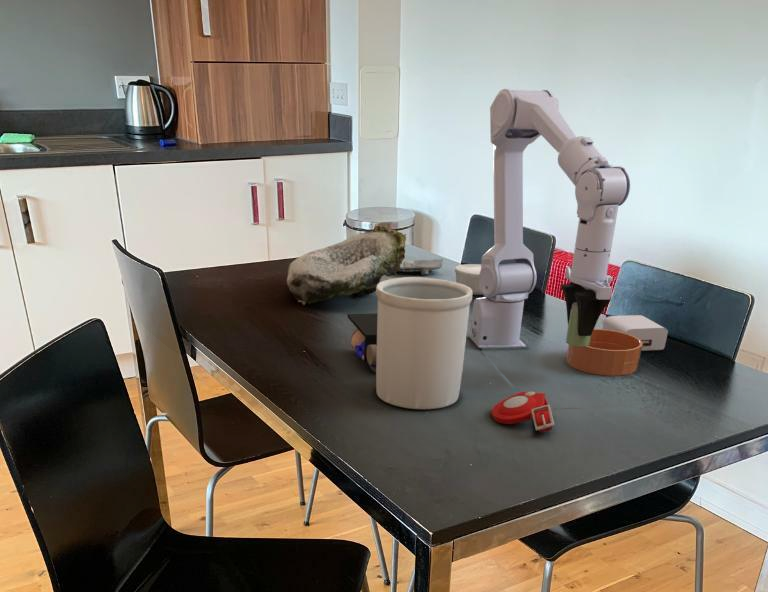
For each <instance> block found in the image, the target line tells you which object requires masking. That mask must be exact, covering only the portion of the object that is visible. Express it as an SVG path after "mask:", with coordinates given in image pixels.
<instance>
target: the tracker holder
mask: <svg viewBox="0 0 768 592" xmlns="http://www.w3.org/2000/svg"><path fill="white" fill-rule="evenodd" d="M552 413H553V412H552V408H551V405H550V404H549V402H548V401H547V399H546V394H545V393H544V392H535V391H520V392H517V393H514V394H513V395H510V396H509V397H506V398H504V399H502V400H500V401H499V402H497V403H496V404H495V405H494V406H493V408H492V410H491V415H492V419H493V420H494V421H495V422H496V423H499V424H504V425H512V424H519V423H524V422H526V421H529V420H533V424H534V429H535V431H536V432H537V431H538V433H539V434H542V433H545V432H549V431H551V430H552V429H553V427H554V426H555V420H554V417H553V414H552Z"/></svg>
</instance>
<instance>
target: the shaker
mask: <svg viewBox="0 0 768 592" xmlns="http://www.w3.org/2000/svg"><path fill="white" fill-rule="evenodd" d="M590 339H591V336H579V335H578V306H577V302H575V303H573V304H572V308H571V311H570V318H569V324H568V323H567V332H566V338H565V343H566V344H567V345H568V344H570V345H573V346H588V345H589V344H590Z"/></svg>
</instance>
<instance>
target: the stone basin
mask: <svg viewBox="0 0 768 592" xmlns="http://www.w3.org/2000/svg"><path fill="white" fill-rule="evenodd" d="M406 241H407V234H405V233H402V232H400V231H398V230H396V229H395V228H388V227H385V226H380V225H374V227H373V230H371V229H369V230H366V231H364V232H360V233H358V234H356V235H353V236H351V237H348V238H347V239H344V240H342V241H340V242H337V243H334V244H332V245H329V246H325V247H323V248H320V249H315V250H312V251H309V252H307V253H305V254H303V255H301V256H299V257H297V258H296V259H294V260H293V261H292V262H291V263H290V264H289V266H288V268H287V276H286V277H287V278H286V284H287V286H288V290H289V292H290V293H291V294H292V295H293V297H294V298H295V300H297V302H298V303H301V304H302V305H303V306H305V305H306V304H308V305H311V304H314V303H316V302H318V301H319V302H321V301H322V302H325V301H328V300H329V299H333V298H334V296H345V295H347V296H348V295H351V297H353V298H362V297H365V296H369V295H372V294H374V293H376V287H377V284H378V283H380V282H381V279H382V278H383V277H385V276H386V277H394V276H396V273H397V272H400V271H399V270H400V267H401V265H402V263H403V262H404V259H406V256H405V255H406V254H405V253H406Z"/></svg>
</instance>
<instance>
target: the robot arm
mask: <svg viewBox="0 0 768 592" xmlns="http://www.w3.org/2000/svg"><path fill="white" fill-rule="evenodd" d="M489 118H490V119H489V121H490V123H489V124H490V125H489V126H490V131H489V132H490V143H491V144H492V146H493V147H492V155H493V157H492V164H493V166H492V167H493V240H494V241H493V242H494V245H493V246H491V247H490V248H489V249H488V250H487V251H486V252H485V253H484V254H483V255H482V256H481V263H480V264H481V271H480V274H479V286H480V289H481V291H482V293H483V294H484V295H482V296H483V297H476V298H475V299H474V301H473V304H472V310H471V321H470V322H471V323H470V332H469V335H468V337H469V338H470V340H471V341H472V342H473V343H474V344H475V346H476V347H477V348H478V349H480V350H481V349H489V348H490V349H497V348H499V349H501V348H506V349H507V348H526V347H527V345H526V344H525V343H524V342H523V341H522V340H521V339H520V338H521V329H522V323H523V313H524V307H525V306H524V305H525V300H528V298H529V294H531V293H532V292H533V291H534V289H535V287H536V284H537V281H538V280H537V279H538V278H537V277H538V276H537V269H536V267H535V263H534V253H533V252H532V251H531V250H530V249H529V248H528V247H527V246H526V245H525V244H524V213H523V212H524V208H523V207H524V151H525V150H526V148H527V147H528V146H529V145H530V144H533V143H534V142H535V141H536V140H538V138H539V137H543V139H545V140H546V142H547V143H548V144H549V145H550V146H551V147H552V148H553V149H554V150H555V151H556V152H557V153H558V155H557V164H558V166H559V167H560V169H561V170H562V172H564V174H565V175H566V176H567V178H568V179H569V180H570V181H571V183H572V184H573V186H574V187H575V188H574V195H575V199H576V204H577V208H576V214H577V218H578V224H577V230H576V236H575V243H574V251H573V256H572V263H571V266H568V265H567V266H566V268H565V273H564V278H565V279H567V280H568V281H569V283H563V284H561V286H560V287H561V290H562V294H563V296H564V302H565V306H566V319H567V321H566V322H567V325H568V324H569V318H570V311H571V308H572V304H573V303H575V302H577V306H578V335H579V336H591V334H592V332H593V330H594V329H596V326H597V323H598V322H599V321H598V320H599V318H600V316H601V314H602V313H603V311H604V310H605V309H606V307H607V306H608V304H609V303H610V302H611V300H612V290H613V287H612V286H610V283H612V282H613V276H612V275H609V274H608V269H609V263H610V258H611V252H612V247H613V240H614V235H615V230H616V223H617V219H618V212H619V207H620V206H622V205H624V203H625V202H626V201H627V199H628V197H629V195H630V191H631V180H630V176H629V174H628V172H627V170H626V168H625V167H623V166H620V165H619V166H614V164H610V163H609V160H608V159H607V158H606V156H603V155H602V154H601V153H600V151H599V150H598V149H597V148H596V147H595V145H594V140H593V139H592V138H591V137H590V136H583V135H579V136H576V134H575V133H574V131H573V129H571V127H570V125H569V124H568V122H567V121H566V120H565V118H564V116H563V115H562V113H561V112H560V110H559V99H558V98H556V97H555V95H554V94H553V92H552V91H550V90H549V89H542V90H525V89H523V90H522V89H521V90H519V89H509V88H503V89H501V90H499V91H498V93H497V94H496V95H495V97H494V99H493V101H492V103H491V104H490V107H489ZM505 260H507V261H506V262H502V261H505ZM508 260H514V261H508Z"/></svg>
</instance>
